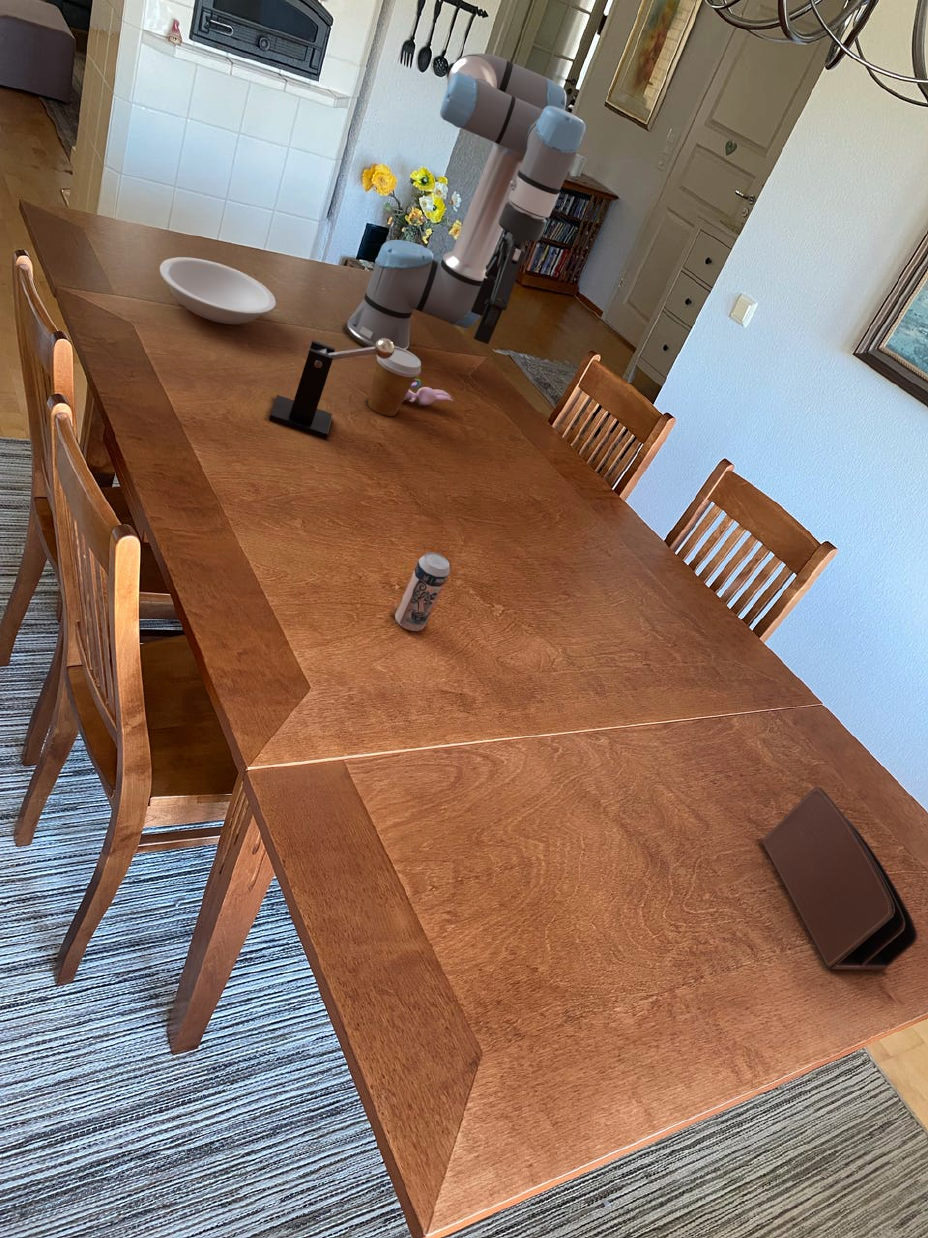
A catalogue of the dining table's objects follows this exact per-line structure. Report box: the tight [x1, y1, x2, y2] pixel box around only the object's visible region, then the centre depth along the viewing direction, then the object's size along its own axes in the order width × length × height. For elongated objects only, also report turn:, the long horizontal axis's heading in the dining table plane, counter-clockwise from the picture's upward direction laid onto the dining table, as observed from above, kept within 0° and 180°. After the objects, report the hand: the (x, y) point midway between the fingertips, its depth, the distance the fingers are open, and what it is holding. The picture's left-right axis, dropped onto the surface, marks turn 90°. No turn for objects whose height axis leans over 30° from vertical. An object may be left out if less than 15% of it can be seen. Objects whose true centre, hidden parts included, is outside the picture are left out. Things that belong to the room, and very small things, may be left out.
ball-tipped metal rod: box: [316, 338, 394, 361], centre depth 168 cm, size 15×4×4 cm, turn 91°
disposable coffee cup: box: [367, 346, 422, 417], centre depth 190 cm, size 10×10×12 cm
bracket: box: [268, 339, 336, 440], centre depth 172 cm, size 11×9×15 cm
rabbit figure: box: [403, 378, 454, 406], centre depth 200 cm, size 6×6×15 cm
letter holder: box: [761, 786, 919, 971], centre depth 123 cm, size 10×20×14 cm, turn 13°
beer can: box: [394, 552, 451, 632], centre depth 137 cm, size 5×5×12 cm
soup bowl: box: [159, 256, 277, 325], centre depth 195 cm, size 24×24×7 cm
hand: (479, 327), depth 166 cm, fingers open, 13 cm apart
